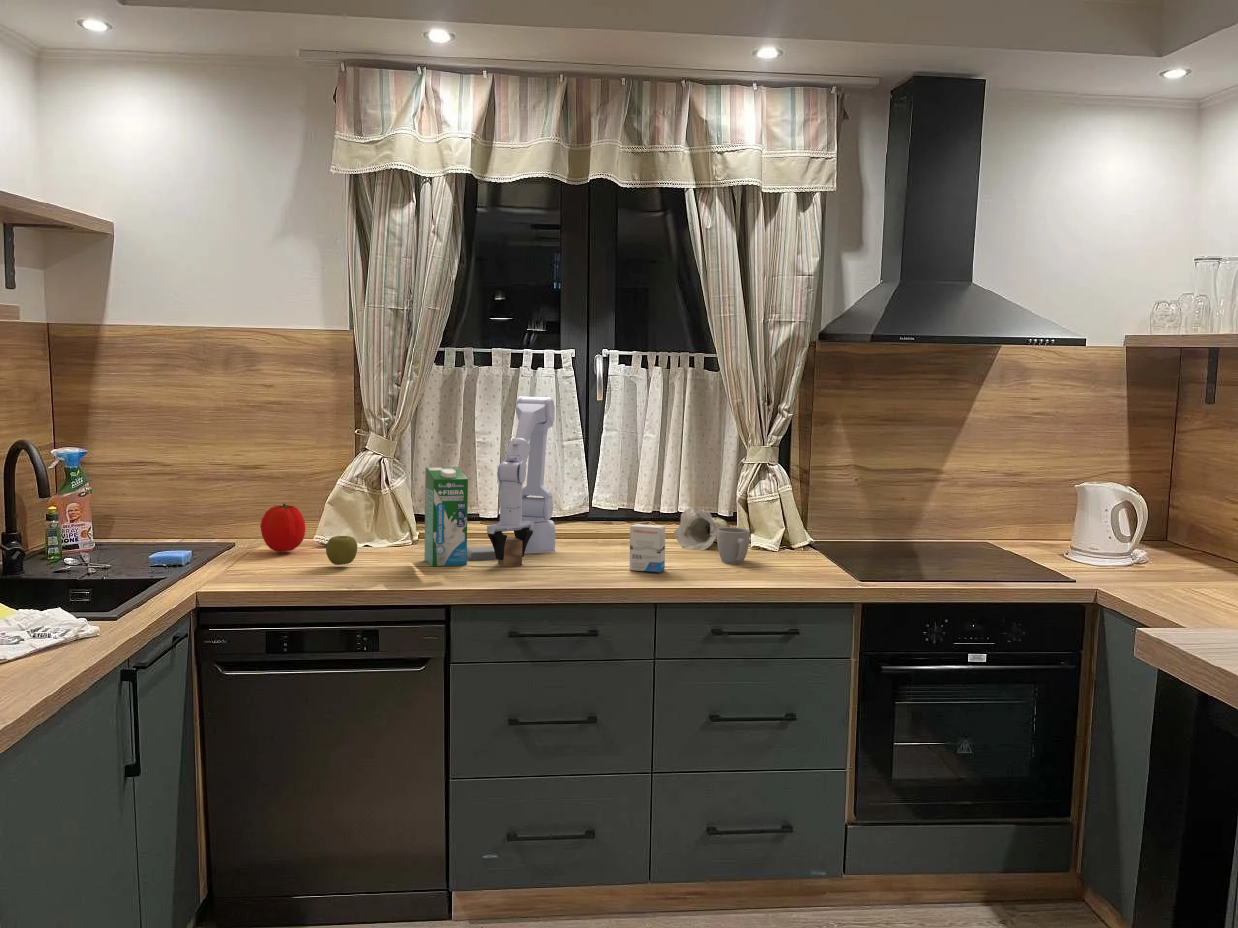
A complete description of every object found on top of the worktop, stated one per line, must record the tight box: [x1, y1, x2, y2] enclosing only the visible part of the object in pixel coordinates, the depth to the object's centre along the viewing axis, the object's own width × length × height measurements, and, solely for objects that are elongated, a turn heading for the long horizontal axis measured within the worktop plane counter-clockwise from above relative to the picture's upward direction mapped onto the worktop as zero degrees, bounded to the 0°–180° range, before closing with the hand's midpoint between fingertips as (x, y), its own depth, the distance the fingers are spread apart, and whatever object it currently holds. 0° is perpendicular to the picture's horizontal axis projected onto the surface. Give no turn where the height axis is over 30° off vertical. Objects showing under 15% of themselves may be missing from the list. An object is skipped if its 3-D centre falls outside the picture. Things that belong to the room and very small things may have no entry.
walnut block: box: [497, 537, 523, 567], centre depth 245 cm, size 5×5×6 cm
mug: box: [717, 526, 751, 565], centre depth 252 cm, size 12×9×10 cm
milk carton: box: [423, 466, 469, 568], centre depth 244 cm, size 9×9×25 cm
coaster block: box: [467, 545, 497, 562], centre depth 255 cm, size 9×9×3 cm
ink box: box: [629, 523, 666, 573], centre depth 243 cm, size 9×5×12 cm, turn 71°
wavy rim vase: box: [673, 507, 731, 551], centre depth 277 cm, size 12×13×18 cm
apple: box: [325, 535, 358, 566], centre depth 239 cm, size 8×8×7 cm
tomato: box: [260, 503, 306, 552], centre depth 254 cm, size 12×12×13 cm
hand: (510, 558), depth 246 cm, fingers closed on walnut block, 6 cm apart
